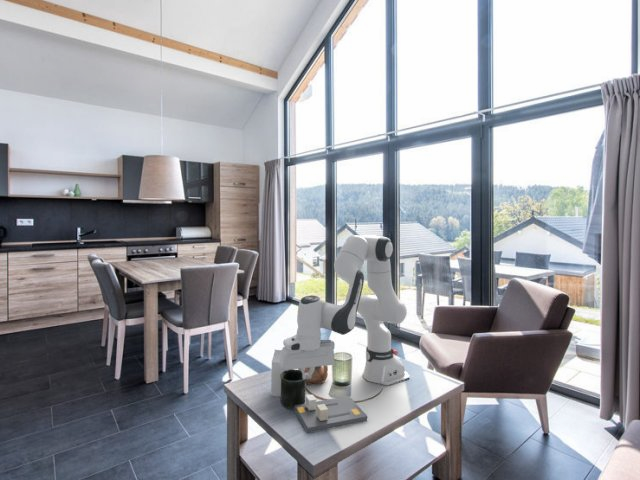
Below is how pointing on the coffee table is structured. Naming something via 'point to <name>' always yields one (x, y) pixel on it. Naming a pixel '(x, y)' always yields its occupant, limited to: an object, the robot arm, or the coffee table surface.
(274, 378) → the milk carton
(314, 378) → the ceramic jug
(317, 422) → the switch panel
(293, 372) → the mug
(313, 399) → the off white slider
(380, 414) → the coffee table surface
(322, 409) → the sand slider
